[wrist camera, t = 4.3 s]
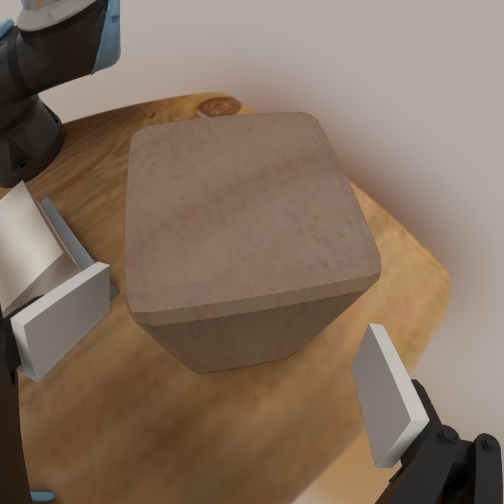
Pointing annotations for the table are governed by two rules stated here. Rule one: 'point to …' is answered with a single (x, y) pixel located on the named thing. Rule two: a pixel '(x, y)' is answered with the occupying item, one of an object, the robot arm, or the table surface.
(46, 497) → the chair
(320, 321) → the block
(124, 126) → the table surface
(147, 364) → the table surface
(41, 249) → the tower top
